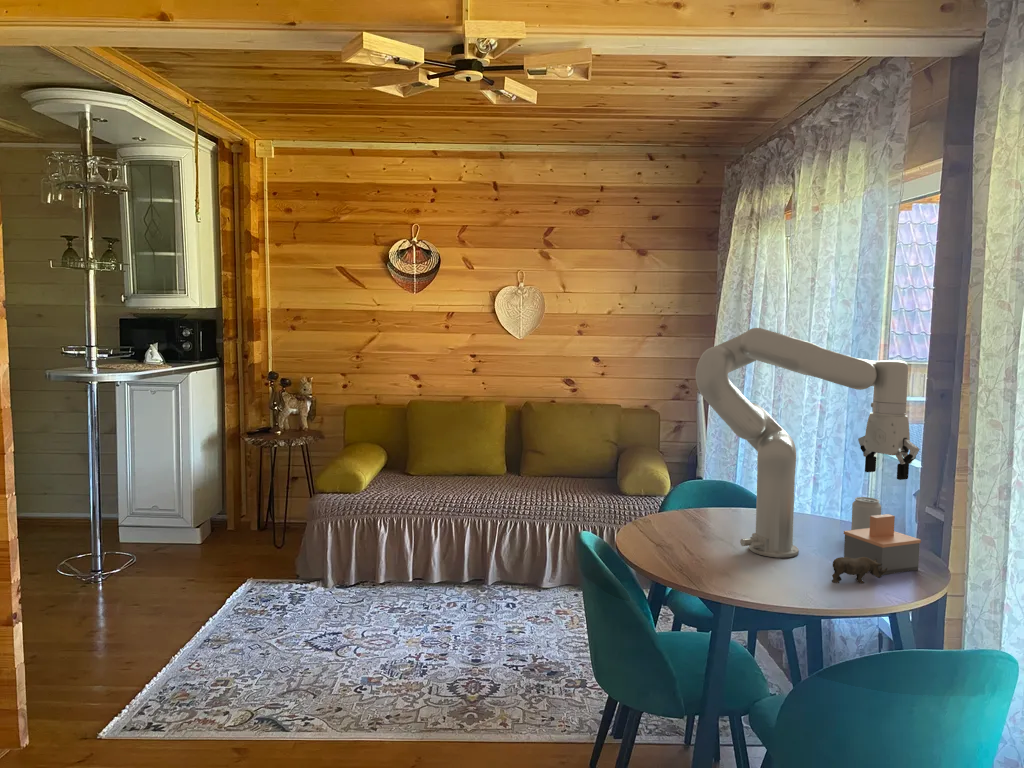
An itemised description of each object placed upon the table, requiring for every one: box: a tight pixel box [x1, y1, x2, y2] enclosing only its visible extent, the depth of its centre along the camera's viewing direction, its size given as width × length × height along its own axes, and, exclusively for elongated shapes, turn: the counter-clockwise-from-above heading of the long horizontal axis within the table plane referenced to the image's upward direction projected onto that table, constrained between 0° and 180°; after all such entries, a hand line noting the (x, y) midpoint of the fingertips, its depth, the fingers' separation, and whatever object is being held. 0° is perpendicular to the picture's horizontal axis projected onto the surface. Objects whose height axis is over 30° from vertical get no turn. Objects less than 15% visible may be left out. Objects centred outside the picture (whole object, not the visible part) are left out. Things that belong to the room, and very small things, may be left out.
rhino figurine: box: [831, 556, 887, 585], centre depth 174 cm, size 4×14×6 cm, turn 91°
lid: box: [843, 513, 922, 548], centre depth 185 cm, size 12×12×7 cm
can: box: [850, 496, 882, 530], centre depth 207 cm, size 8×8×12 cm
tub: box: [843, 534, 921, 576], centre depth 185 cm, size 12×12×7 cm
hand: (885, 475), depth 186 cm, fingers open, 9 cm apart
